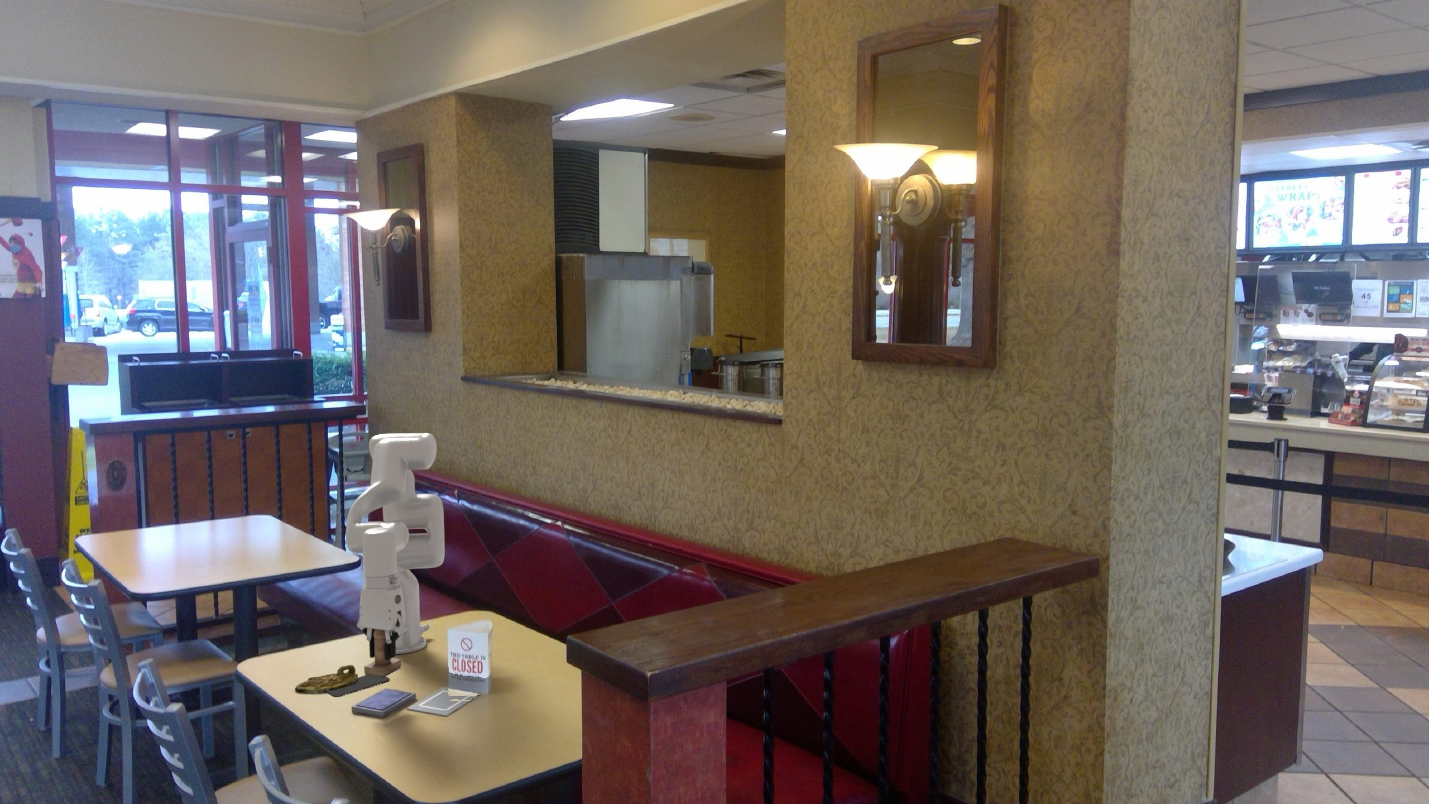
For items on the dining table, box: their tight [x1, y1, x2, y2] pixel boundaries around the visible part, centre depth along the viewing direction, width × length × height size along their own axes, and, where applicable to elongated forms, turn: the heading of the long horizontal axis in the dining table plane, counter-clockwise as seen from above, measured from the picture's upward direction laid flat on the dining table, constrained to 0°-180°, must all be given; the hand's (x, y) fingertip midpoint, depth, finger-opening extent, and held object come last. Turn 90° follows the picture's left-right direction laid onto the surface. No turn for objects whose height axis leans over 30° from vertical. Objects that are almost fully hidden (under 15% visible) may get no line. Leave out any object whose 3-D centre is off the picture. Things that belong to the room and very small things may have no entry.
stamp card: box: [406, 686, 477, 717], centre depth 241 cm, size 14×11×1 cm
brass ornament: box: [294, 664, 359, 695], centre depth 251 cm, size 9×5×15 cm
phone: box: [325, 675, 391, 698], centre depth 251 cm, size 7×1×15 cm
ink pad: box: [351, 687, 417, 719], centre depth 239 cm, size 12×9×2 cm
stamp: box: [363, 629, 402, 678], centre depth 237 cm, size 7×5×11 cm
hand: (382, 656), depth 237 cm, fingers closed on stamp, 3 cm apart
